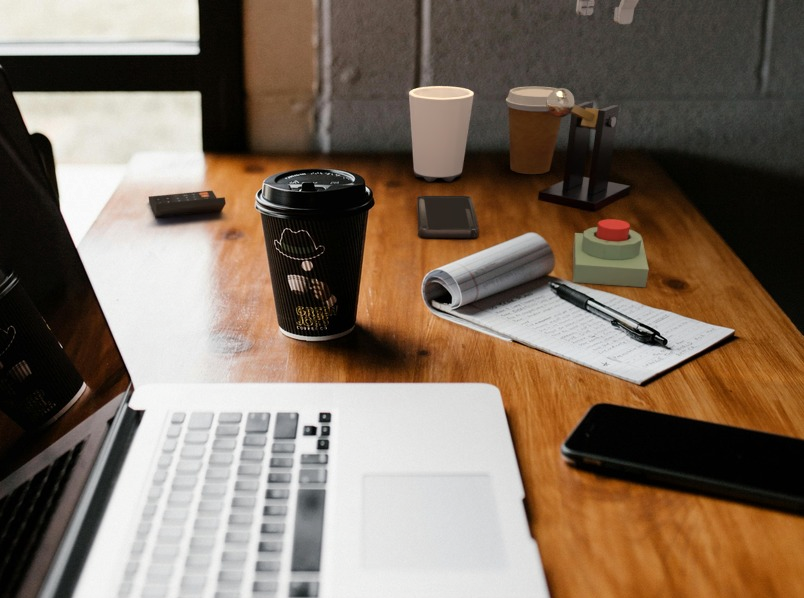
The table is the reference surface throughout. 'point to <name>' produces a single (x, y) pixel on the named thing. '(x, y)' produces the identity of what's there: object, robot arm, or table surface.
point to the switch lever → (570, 108)
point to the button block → (609, 260)
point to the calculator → (186, 203)
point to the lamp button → (613, 230)
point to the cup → (439, 130)
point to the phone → (446, 217)
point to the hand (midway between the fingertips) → (602, 19)
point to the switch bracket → (596, 187)
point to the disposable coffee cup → (531, 130)
